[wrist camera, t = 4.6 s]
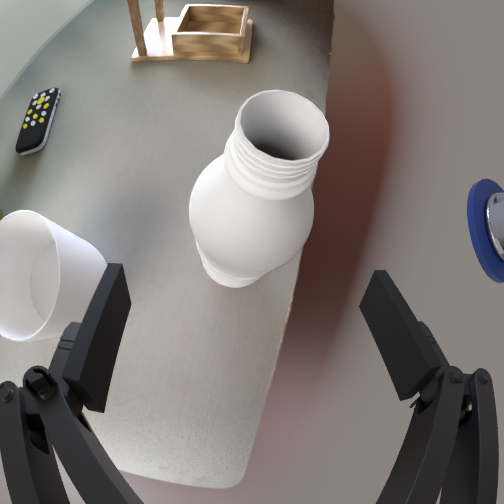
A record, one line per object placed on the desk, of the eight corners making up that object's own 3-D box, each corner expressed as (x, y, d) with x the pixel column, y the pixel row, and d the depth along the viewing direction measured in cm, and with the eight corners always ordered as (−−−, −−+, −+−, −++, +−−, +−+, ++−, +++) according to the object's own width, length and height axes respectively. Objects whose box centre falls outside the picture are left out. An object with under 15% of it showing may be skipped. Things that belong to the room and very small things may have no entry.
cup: (33, 250, 29) (-24, 227, 17) (104, 229, 31) (57, 193, 19) (45, 338, 27) (-15, 346, 16) (120, 326, 29) (72, 334, 18)
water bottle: (254, 297, 32) (371, 270, 7) (193, 277, 31) (125, 188, 7) (272, 238, 33) (389, 96, 9) (214, 219, 33) (217, 36, 9)
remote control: (18, 158, 31) (11, 153, 29) (36, 99, 33) (32, 93, 31) (45, 150, 32) (39, 143, 30) (63, 90, 34) (59, 83, 32)
